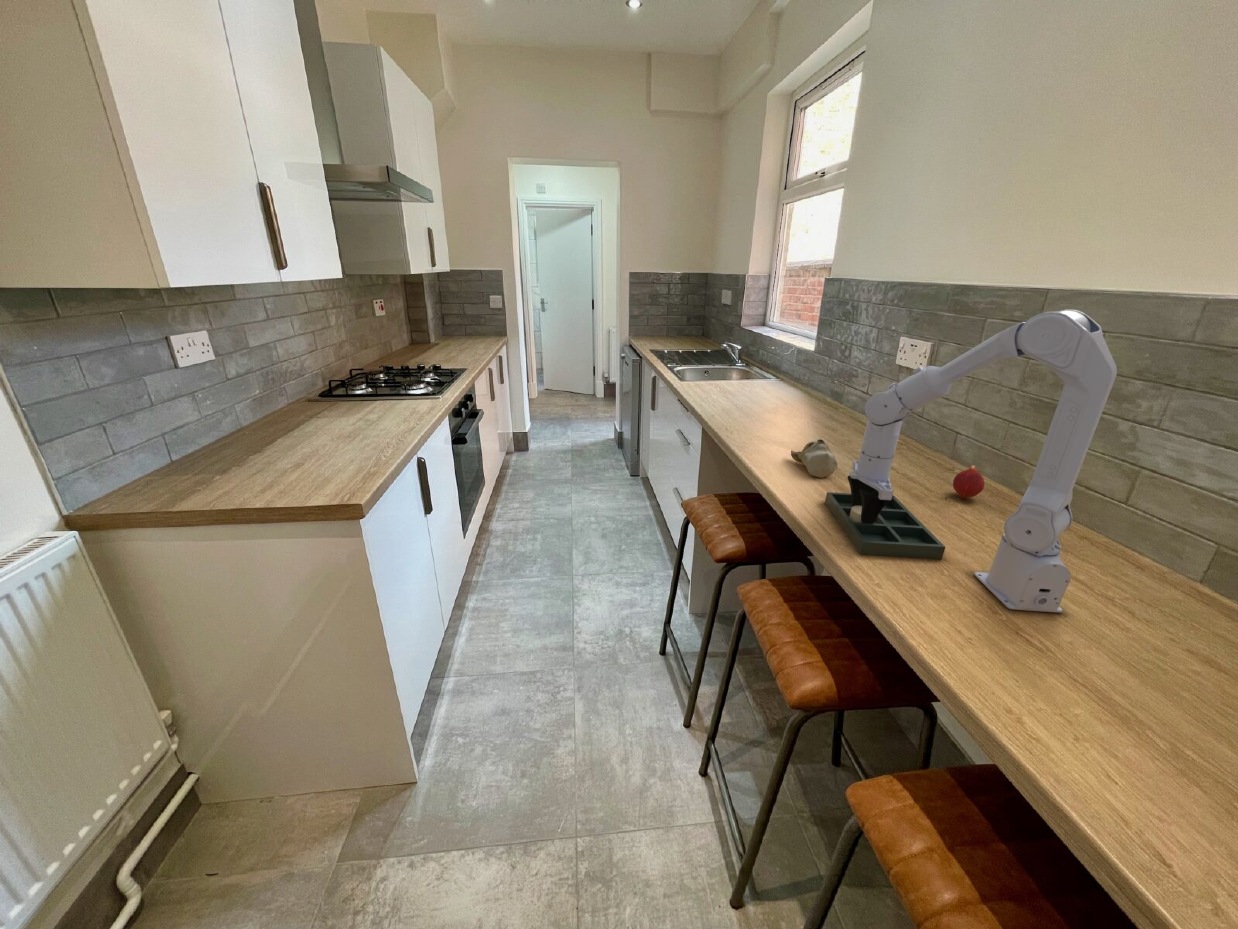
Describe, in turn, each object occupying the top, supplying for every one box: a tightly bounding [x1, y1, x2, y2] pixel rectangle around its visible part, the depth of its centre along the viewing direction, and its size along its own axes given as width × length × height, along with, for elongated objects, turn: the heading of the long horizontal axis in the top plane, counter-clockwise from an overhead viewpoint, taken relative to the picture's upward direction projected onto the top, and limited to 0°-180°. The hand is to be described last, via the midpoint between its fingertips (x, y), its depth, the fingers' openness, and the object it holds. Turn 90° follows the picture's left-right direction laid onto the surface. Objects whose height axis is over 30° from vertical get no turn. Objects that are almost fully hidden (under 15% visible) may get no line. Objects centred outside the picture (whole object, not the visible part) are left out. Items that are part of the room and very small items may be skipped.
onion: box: [952, 465, 985, 499], centre depth 111 cm, size 6×6×8 cm
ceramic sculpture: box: [790, 439, 839, 479], centre depth 125 cm, size 11×9×15 cm
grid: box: [824, 491, 946, 560], centre depth 98 cm, size 21×14×3 cm
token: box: [849, 505, 862, 523], centre depth 98 cm, size 4×4×3 cm
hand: (862, 516), depth 98 cm, fingers closed on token, 4 cm apart
